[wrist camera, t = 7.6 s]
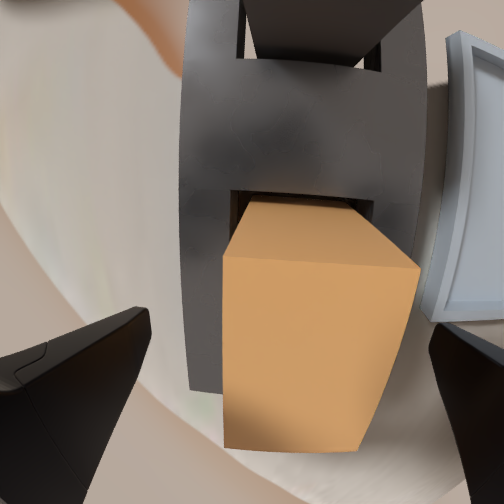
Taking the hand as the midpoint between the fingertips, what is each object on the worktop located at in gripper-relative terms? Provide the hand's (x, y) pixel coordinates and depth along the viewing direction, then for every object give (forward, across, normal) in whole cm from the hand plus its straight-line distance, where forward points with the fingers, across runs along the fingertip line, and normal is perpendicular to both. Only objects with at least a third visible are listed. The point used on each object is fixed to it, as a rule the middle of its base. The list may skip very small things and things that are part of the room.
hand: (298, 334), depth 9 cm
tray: (+6, -13, -5) cm, 15 cm away
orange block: (+6, 0, 0) cm, 6 cm away
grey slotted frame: (+6, 0, -6) cm, 8 cm away
